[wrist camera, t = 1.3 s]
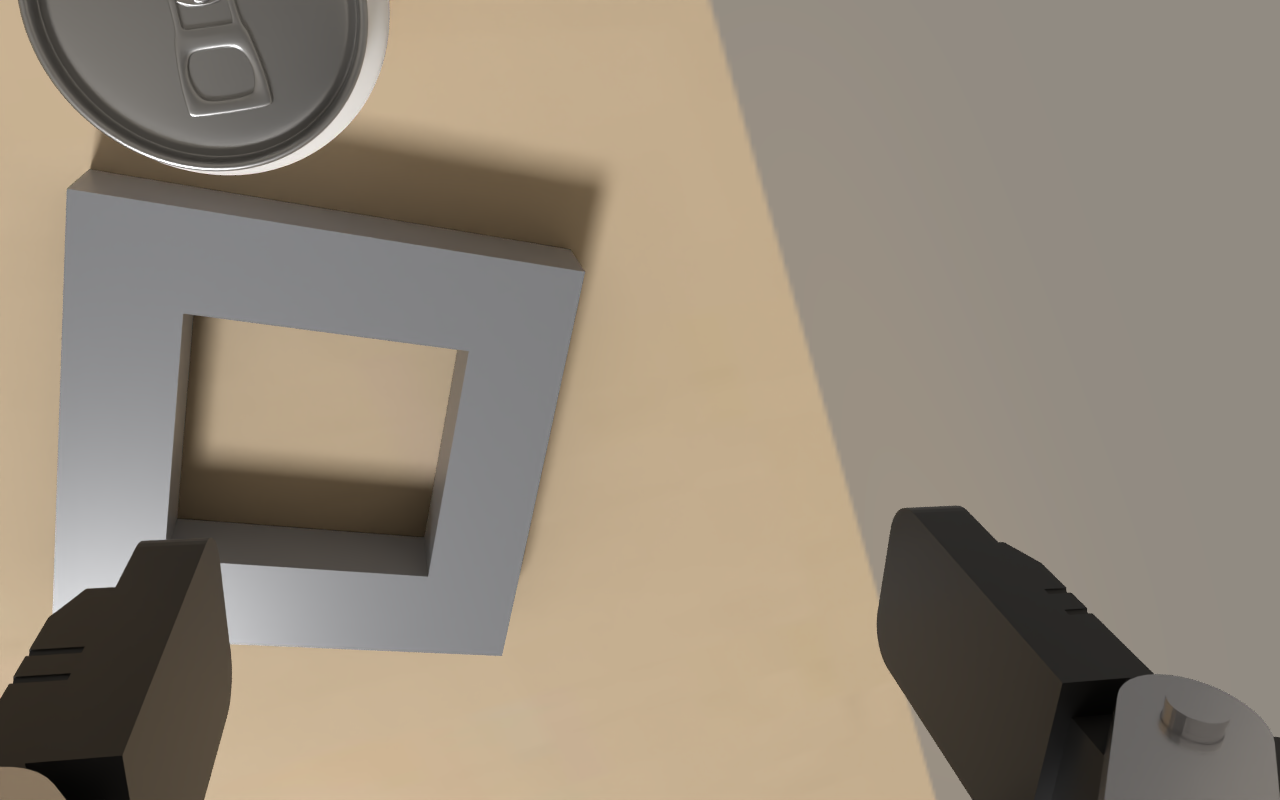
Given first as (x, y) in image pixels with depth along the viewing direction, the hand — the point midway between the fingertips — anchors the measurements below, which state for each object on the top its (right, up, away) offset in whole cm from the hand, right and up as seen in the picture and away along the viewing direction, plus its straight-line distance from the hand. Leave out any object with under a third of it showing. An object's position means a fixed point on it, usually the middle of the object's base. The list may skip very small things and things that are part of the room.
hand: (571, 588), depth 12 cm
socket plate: (-10, +2, +21) cm, 24 cm away
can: (-10, +14, +16) cm, 23 cm away
